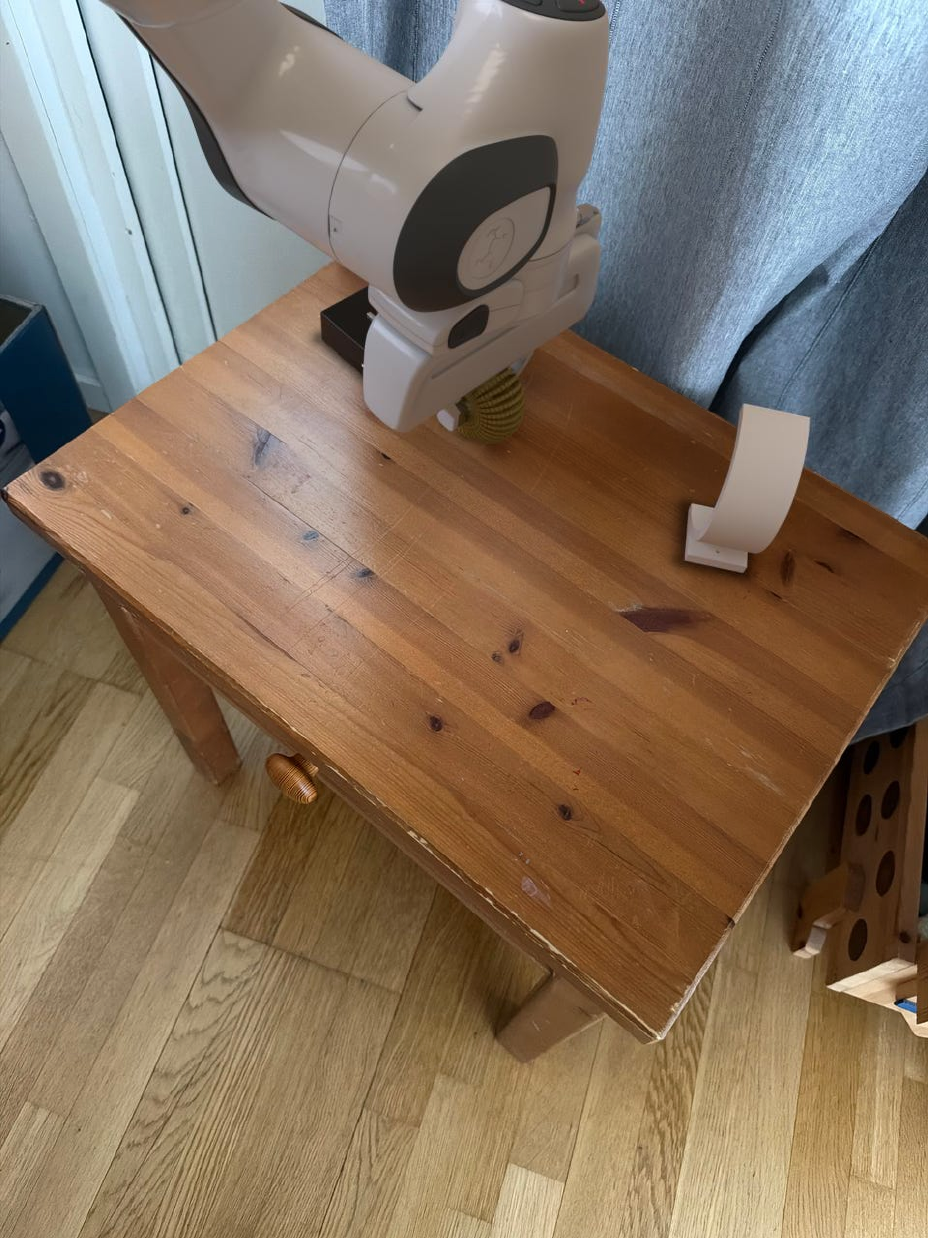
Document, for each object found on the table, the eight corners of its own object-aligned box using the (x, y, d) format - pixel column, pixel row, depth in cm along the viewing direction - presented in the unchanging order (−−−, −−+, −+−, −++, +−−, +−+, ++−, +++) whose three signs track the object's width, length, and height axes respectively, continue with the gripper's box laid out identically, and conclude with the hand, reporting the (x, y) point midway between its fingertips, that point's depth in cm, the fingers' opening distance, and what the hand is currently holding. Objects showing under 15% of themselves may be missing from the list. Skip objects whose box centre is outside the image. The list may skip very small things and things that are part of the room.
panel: (398, 424, 73) (399, 397, 70) (309, 346, 76) (307, 316, 73) (512, 351, 78) (517, 322, 75) (424, 280, 81) (426, 251, 79)
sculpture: (420, 413, 72) (426, 336, 65) (455, 389, 74) (465, 312, 67) (492, 471, 70) (506, 399, 63) (526, 445, 71) (543, 372, 65)
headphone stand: (745, 521, 71) (810, 417, 61) (742, 584, 68) (810, 485, 58) (688, 509, 71) (743, 402, 61) (683, 571, 68) (740, 470, 58)
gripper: (571, 170, 63) (538, 324, 75) (346, 293, 54) (350, 444, 66) (639, 217, 61) (594, 368, 73) (417, 352, 53) (407, 497, 64)
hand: (476, 405), depth 69 cm, fingers closed on sculpture, 4 cm apart
